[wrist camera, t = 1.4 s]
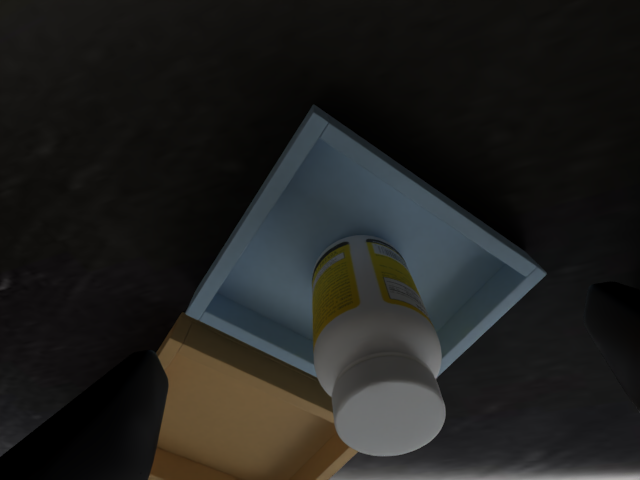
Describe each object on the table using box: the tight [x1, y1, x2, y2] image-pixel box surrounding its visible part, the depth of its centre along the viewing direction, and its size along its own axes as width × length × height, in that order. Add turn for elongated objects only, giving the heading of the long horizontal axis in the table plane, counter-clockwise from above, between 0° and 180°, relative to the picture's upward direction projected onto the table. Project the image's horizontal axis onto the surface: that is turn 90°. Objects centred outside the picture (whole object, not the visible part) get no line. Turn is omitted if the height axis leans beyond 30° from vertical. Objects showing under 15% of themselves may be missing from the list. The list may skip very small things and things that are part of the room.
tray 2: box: [185, 104, 547, 377], centre depth 22 cm, size 15×13×2 cm
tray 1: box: [148, 312, 358, 480], centre depth 27 cm, size 15×13×2 cm
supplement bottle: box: [312, 235, 446, 456], centre depth 18 cm, size 5×5×10 cm
